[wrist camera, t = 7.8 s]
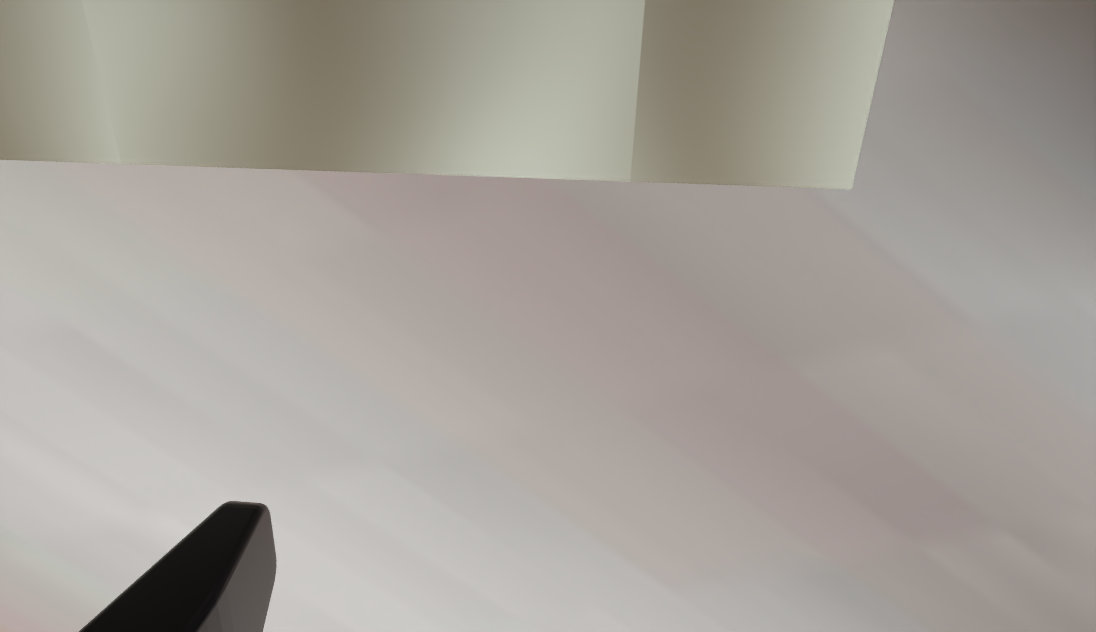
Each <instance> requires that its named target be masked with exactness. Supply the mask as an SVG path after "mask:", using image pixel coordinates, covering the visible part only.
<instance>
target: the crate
mask: <svg viewBox="0 0 1096 632" xmlns="http://www.w3.org/2000/svg"><path fill="white" fill-rule="evenodd" d="M893 4H894V0H0V160H28V161H56V162H85V163H114V164H142V165H171V166H200V167H229V168H257V169H286V170H315V171H344V172H372V173H401V174H430V175H458V176H487V177H516V178H545V179H573V180H602V181H631V182H660V183H688V184H717V185H746V186H774V187H803V188H832V189H852V186H853V181H854V177H855V172H856V168H857V164H858V159H859V155H860V150H861V146H862V141H863V137H864V132H865V128H866V124H867V119H868V115H869V110H870V106H871V101H872V97H873V93H874V88H875V84H876V79H877V75H878V70H879V66H880V61H881V57H882V53H883V48H884V44H885V39H886V35H887V30H888V26H889V22H890V17H891V13H892V8H893Z"/></svg>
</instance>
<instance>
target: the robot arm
mask: <svg viewBox="0 0 1096 632" xmlns="http://www.w3.org/2000/svg"><path fill="white" fill-rule="evenodd" d="M275 574H276V553H275V546H274V538H273V531H272V524H271V517H270V512H269V510H268V508H267V506H266V505H264V504H261V503H251V502H238V501H229V502H226V503H224V504H222V505H221V506H220V507H218V508H217V509H216V510H215V511H214V512H213V513H212V514H211V515H209V516H208V517H207V518H206V519H205V520H204V521H203V522H202V523H200V524H199V525H198V526H197V527H196V528H195V529H194V530H193V531H191V532H190V533H189V534H188V535H187V536H186V537H185V538H184V539H182V540H181V541H180V542H179V543H178V544H177V545H176V546H175V547H173V548H172V549H171V550H170V551H169V552H168V553H167V554H166V555H164V556H163V557H162V558H161V559H160V560H159V561H158V562H157V563H155V564H154V565H153V566H152V567H151V568H150V569H149V570H148V571H146V572H145V573H144V574H143V575H142V576H141V577H140V578H139V579H137V580H136V581H135V582H134V583H133V584H132V585H131V586H130V587H128V588H127V589H126V590H125V591H124V592H123V593H122V594H121V595H119V596H118V597H117V598H116V599H115V600H114V601H113V602H112V603H110V604H109V605H108V606H107V607H106V608H105V609H104V610H103V611H101V612H100V613H99V614H98V615H97V616H96V617H95V618H94V619H92V620H91V621H90V622H89V623H88V624H87V625H86V626H85V627H83V628H82V629H81V630H80V631H79V632H263V628H264V624H265V619H266V615H267V611H268V607H269V602H270V598H271V594H272V590H273V585H274V581H275Z"/></svg>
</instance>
